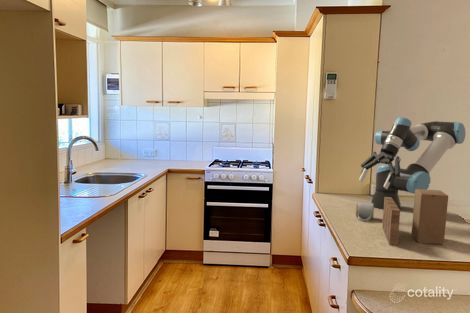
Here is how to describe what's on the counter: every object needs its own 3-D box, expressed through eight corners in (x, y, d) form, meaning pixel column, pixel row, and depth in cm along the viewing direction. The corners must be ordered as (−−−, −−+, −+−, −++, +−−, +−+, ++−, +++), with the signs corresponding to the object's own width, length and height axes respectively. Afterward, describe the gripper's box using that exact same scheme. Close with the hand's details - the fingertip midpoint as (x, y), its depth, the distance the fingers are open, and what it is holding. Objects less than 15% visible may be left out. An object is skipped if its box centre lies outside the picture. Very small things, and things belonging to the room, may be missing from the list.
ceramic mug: (356, 215, 194) (357, 200, 193) (373, 217, 191) (374, 201, 190) (354, 221, 184) (355, 205, 183) (373, 223, 181) (374, 207, 180)
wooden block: (444, 244, 153) (448, 195, 151) (417, 242, 155) (421, 193, 153) (436, 236, 163) (440, 190, 161) (411, 234, 165) (414, 188, 163)
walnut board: (382, 227, 175) (384, 196, 173) (389, 227, 174) (391, 197, 172) (389, 244, 152) (391, 210, 150) (397, 245, 151) (400, 210, 149)
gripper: (366, 138, 196) (347, 175, 192) (412, 146, 176) (392, 187, 173) (372, 146, 200) (354, 181, 197) (418, 154, 181) (399, 194, 177)
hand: (372, 184), depth 185 cm, fingers open, 13 cm apart
